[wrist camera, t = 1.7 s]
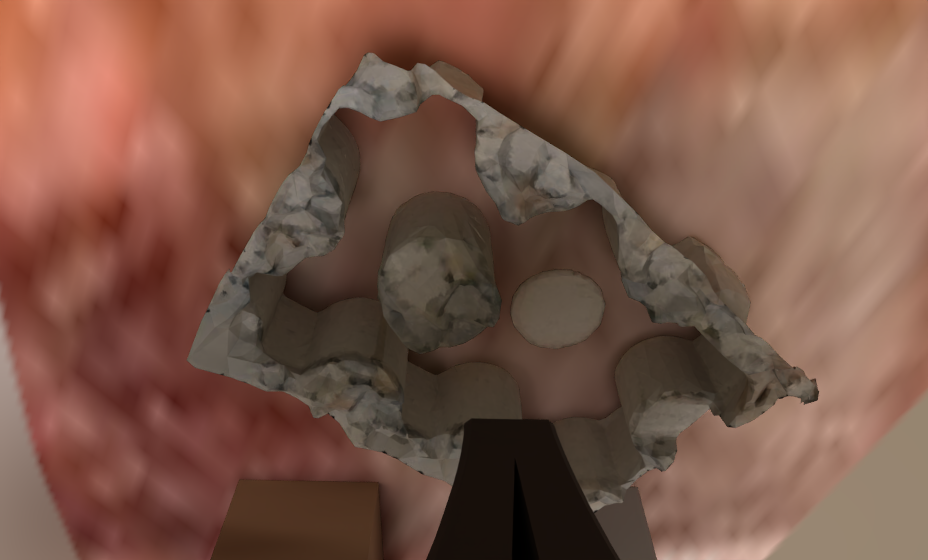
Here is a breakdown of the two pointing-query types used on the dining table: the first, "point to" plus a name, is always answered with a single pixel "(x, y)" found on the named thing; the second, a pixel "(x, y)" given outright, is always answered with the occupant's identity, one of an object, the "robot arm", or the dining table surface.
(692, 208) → the dining table surface
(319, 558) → the walnut block
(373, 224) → the dining table surface
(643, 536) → the slate-grey block
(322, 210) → the grey piece
